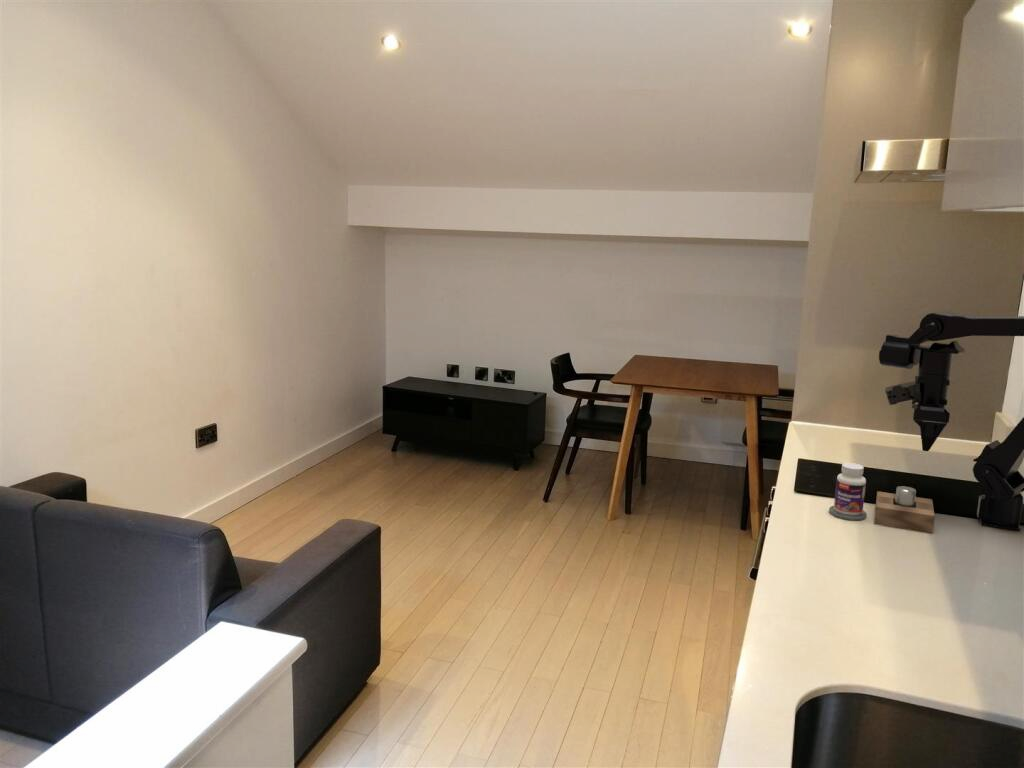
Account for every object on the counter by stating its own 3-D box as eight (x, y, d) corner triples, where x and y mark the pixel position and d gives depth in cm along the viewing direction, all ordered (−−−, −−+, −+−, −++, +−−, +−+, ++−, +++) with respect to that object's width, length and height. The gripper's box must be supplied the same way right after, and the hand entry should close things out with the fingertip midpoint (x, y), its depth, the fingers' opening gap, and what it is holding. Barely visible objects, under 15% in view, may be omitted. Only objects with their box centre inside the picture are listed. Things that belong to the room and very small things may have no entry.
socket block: (930, 515, 149) (932, 499, 148) (932, 533, 140) (934, 515, 140) (875, 507, 154) (877, 491, 153) (874, 523, 145) (876, 506, 144)
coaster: (867, 511, 151) (867, 508, 151) (865, 523, 145) (866, 520, 145) (830, 505, 154) (830, 502, 154) (827, 516, 148) (827, 514, 148)
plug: (912, 516, 148) (915, 487, 146) (912, 521, 145) (916, 493, 144) (893, 513, 149) (896, 485, 148) (893, 518, 146) (896, 490, 145)
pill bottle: (832, 513, 149) (837, 467, 147) (834, 504, 153) (839, 460, 151) (861, 518, 146) (867, 471, 144) (863, 509, 151) (868, 464, 149)
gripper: (890, 362, 163) (882, 430, 166) (889, 376, 147) (881, 451, 150) (948, 366, 158) (939, 436, 161) (954, 382, 142) (944, 459, 145)
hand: (924, 445), depth 155 cm, fingers open, 9 cm apart
